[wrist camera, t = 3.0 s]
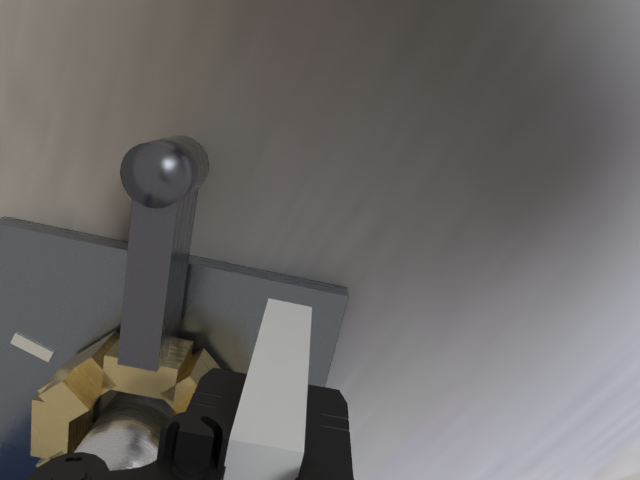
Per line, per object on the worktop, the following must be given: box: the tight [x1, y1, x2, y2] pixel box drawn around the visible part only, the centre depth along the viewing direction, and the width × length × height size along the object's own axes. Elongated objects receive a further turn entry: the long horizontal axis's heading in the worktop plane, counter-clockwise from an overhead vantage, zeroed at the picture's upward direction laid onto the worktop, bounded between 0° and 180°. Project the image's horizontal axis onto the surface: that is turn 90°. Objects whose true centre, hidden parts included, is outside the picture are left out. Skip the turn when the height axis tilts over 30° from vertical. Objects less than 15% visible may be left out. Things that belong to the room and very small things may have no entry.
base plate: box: [0, 217, 348, 480], centre depth 25 cm, size 20×20×8 cm
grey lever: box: [31, 136, 221, 468], centre depth 24 cm, size 22×11×4 cm, turn 168°
